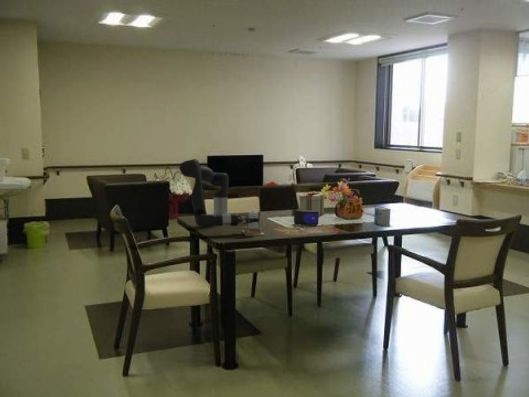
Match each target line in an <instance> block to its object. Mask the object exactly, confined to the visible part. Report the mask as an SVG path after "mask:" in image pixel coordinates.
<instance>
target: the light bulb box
mask: <svg viewBox="0 0 529 397" xmlns="http://www.w3.org/2000/svg"><path fill="white" fill-rule="evenodd" d="M373 223H375V224H377V225H380V226H390V225H391V224H390V223H391V208H388V207H385V206H375V207H374V220H373Z"/></svg>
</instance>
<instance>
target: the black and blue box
mask: <svg viewBox="0 0 529 397" xmlns="http://www.w3.org/2000/svg"><path fill="white" fill-rule="evenodd" d="M319 218H320V216H319V212H318V211H307V210H300V209H296V210H294V211H293V223H294V224H295V225H298V224H301V225H300V226H317V225H318V224H319Z"/></svg>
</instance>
